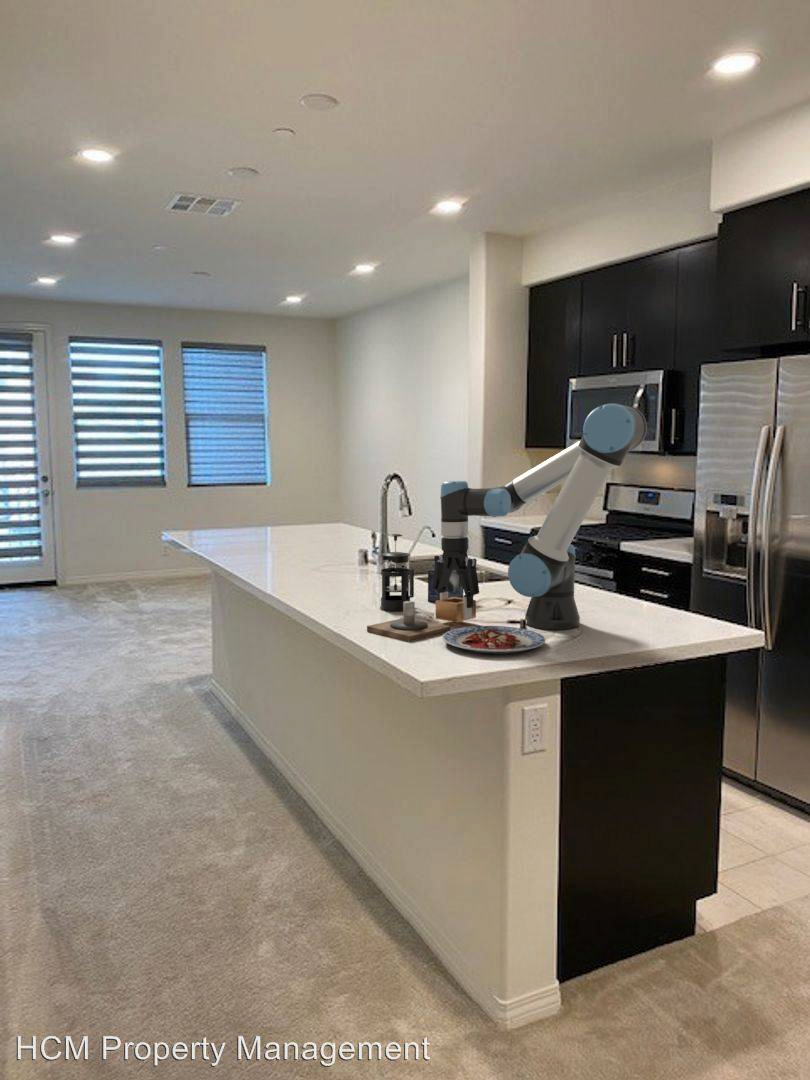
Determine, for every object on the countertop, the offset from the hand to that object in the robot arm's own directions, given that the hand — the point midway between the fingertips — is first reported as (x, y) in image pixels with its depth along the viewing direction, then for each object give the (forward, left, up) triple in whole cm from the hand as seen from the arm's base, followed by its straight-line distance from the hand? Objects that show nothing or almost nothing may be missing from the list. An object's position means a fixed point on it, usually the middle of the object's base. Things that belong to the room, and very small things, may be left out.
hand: (455, 617), depth 226 cm
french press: (+27, -3, -2) cm, 27 cm away
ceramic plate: (-22, +11, -2) cm, 25 cm away
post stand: (+3, +16, -2) cm, 16 cm away
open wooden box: (0, 0, 0) cm, 0 cm away
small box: (+24, -22, -2) cm, 32 cm away
